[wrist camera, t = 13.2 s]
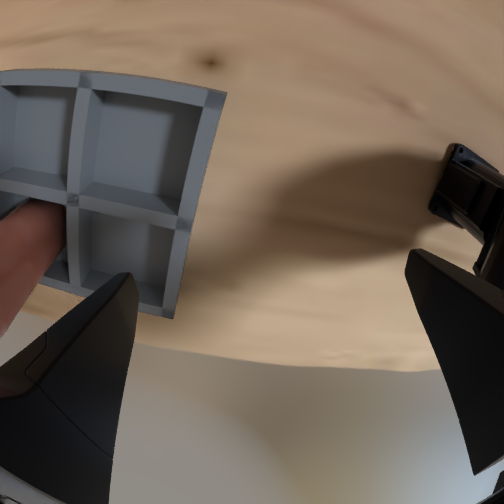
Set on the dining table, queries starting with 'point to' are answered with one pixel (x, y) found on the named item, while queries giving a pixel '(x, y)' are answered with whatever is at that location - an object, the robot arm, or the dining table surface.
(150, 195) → the gray compartment tray
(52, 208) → the pink dome-topped cylinder
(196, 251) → the dining table surface
